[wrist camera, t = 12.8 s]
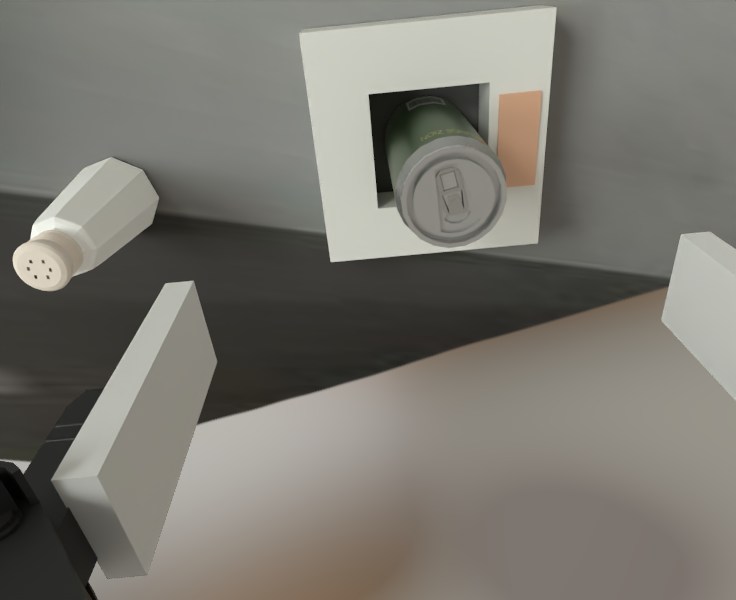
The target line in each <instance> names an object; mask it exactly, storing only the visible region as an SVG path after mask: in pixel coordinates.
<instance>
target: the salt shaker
mask: <svg viewBox="0 0 736 600" xmlns="http://www.w3.org/2000/svg"><path fill="white" fill-rule="evenodd" d="M158 201H159V196H158V195H157V193H156V191H155V190H154V188H153V186H152V185H151V183H150V181H149V179H148V178H147V176H146V174H145V173H144V171H143V170H142V169H139V168H137V167H134V166H132V165H130V164H127V163H125V162H122V161H120V160H117V159H115V158H112V157H110V158H107V159H105V160H102V161H100V162H97V163H95V164H92V165H90V166H88V167H85V168H83V170H82V171H81V172H80V173H79V174H78V175H77V176H76V177H75V178H74V179H73V180H72V182H71V183H70V184H69V185H68V186H67V187H66V188H65V189H64V190H63V191H62V192H61V193H60V195H59V196H58V197H57V198H56V199H55V200H54V201H53V202H52V203H51V204H50V205H49V207H48V208H47V209H46V210H45V211H44V212H43V213H42V214H41V215H40V216H39V217H38V219H37V220H36V221H35V223H34V224H33V226H32V232H31V238H30V240H29V241H28V242H27V243H24V244H22V245H21V246H19V247H18V248H17V249H16V251H15V252H14V254H13V265H14V268H15V270H16V273H17V274H18V276H19V277H20V278H21V279H22V280H23V281H24V282H25V283H27V284H28V285H30V286H32V287H33V288H36V289H39V290H44V291H56V290H59V289H61V288H63V287H64V286H65V285H67V283H68V282H69V280H70V279H71V277H73V276H76V275H78V274H81V273H84V272H87V271H89V270H92V269H94V268H95V267H97V266H98V265H100V264H101V263H102V262H104V261H105V260H106V259H107V258H109V257H110V256H111V255H113V254H114V253H115V252H116V251H118V250H119V249H120V248H122V247H123V246H124V245H125V244H127V243H128V242H129V241H131V240H132V239H133V238H134V237H136V236H137V235H138V234H140V233H141V232H142V231H143V230H145V229H146V228H147V227H149V226H150V225H151V224H152V222H153V219H154V215H155V212H156V208H157V205H158Z"/></svg>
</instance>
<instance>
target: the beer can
mask: <svg viewBox="0 0 736 600" xmlns="http://www.w3.org/2000/svg"><path fill="white" fill-rule="evenodd" d="M384 141H385V149H386V155H387V160H388V165H389V171H390V176H391V181H392V186H393V191H394V197H395V202H396V207H397V210H398V212H399V214H400V216H401V218H402V220H403V222H404V224H405V225H406V226H407V227H408V228H409V229H410V230H411V231H412V232H414V233H415V234H416V235H417V236H418V237H419V238H420V239H421V240H423V241H425V242H427V243H429V244H432V245H434V246H439V247H446V248H453V247H460V246H466V245H468V244H470V243H472V242H475V241H477V240H479V239H481V238H482V237H483V236H484V235H486V234H487V233H488V232H489V231H490V230H492V229H493V227H494V226H495V225H496V223H497V222H498V220H499V219H500V217H501V216H502V213H503V210H504V207H505V203H506V200H507V192H506V174H505V172H504V169H503V166H502V164H501V161H500V159H499V158H498V157H497V156H496V154H495V153H494V152H493V151H492V150H491V148H490V147H489V146H488V145H487V144H486V142H485V141H484V140H483V139H482V137H481V136H480V135H479V134H478V133H477V131H476V130H475V129H474V128H473V127H472V125H471V124H470V123H469V122H468V121H467V119H466V118H465V117H464V116H463V115H462V113H461V112H460V111H459V110H458V109H457V108H456V107H455V105H454V104H452V103H451V102H449V101H447V100H445V99H444V98H442V97H436V96H430V95H427V96H421V97H415V98H413V99H411V100H409V101H407V102H405V103H404V104H402V105H401V106H400V107H399V108H398V109H397V110H396V111H395V112H394V113H393V115H392V117H391V119H390V120H389V122H388V124H387V127H386V132H385V138H384Z"/></svg>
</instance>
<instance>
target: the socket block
mask: <svg viewBox="0 0 736 600" xmlns="http://www.w3.org/2000/svg"><path fill="white" fill-rule="evenodd" d="M556 9H557V7H551V6H543V5H536V6H526V7H516V8H506V9H496V10H486V11H477V12H467V13H457V14H447V15H437V16H427V17H417V18H407V19H398V20H388V21H378V22H368V23H358V24H348V25H338V26H328V27H319V28H309V29H303V30H302V31H301V32H300V33H299V37H300V45H301V52H302V59H303V66H304V73H305V81H306V88H307V95H308V102H309V110H310V117H311V124H312V131H313V138H314V146H315V153H316V160H317V167H318V175H319V182H320V189H321V196H322V203H323V211H324V218H325V225H326V232H327V240H328V247H329V254H330V261H331V262H338V261H349V260H360V259H371V258H382V257H393V256H404V255H415V254H426V253H437V252H448V251H459V250H470V249H481V248H492V247H503V246H514V245H525V244H536V243H538V235H539V223H540V210H541V197H542V185H543V172H544V160H545V147H546V135H547V122H548V109H549V97H550V84H551V72H552V59H553V46H554V34H555V21H556ZM469 84H479V124H478V134H479V135H480V136H481V137H482V139H483V140H484V141H485V142H486V144H487V145H488V146H489V147H490V148H491V150H492V151H493V152H494V153H495V154H496V156H497V157H498V158H499V159H500V161H501V164H502V166H503V169H504V172H505V174H506V192H507V200H506V203H505V207H504V210H503V213H502V216H501V217H500V219H499V220H498V222H497V223H496V225H495V226H494V227H493V229H492V230H490V231H489V232H488V233H487V234H486V235H484V236H483V237H482V238H481V239H479V240H477V241H475V242H472V243H470V244H468V245H466V246H460V247H453V248H446V247H439V246H434V245H432V244H429V243H427V242H425V241H423V240H421V239H420V238H419V237H418V236H417V235H416V234H415V233H414V232H412V231H411V230H410V229H409V228H408V227H407V226H406V225H405V224H404V222H403V220H402V218H401V216H400V214H399V212H398V210H397V207H396V202H395V197H394V191H392V192H381V193H377V191H376V179H375V167H374V155H373V143H372V131H371V119H370V107H369V95H368V94H377V93H387V92H397V91H408V90H418V89H428V88H438V87H448V86H459V85H469Z"/></svg>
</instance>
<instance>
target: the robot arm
mask: <svg viewBox="0 0 736 600" xmlns="http://www.w3.org/2000/svg"><path fill="white" fill-rule="evenodd" d="M661 321H662V322H663V323H664V324H665V325H666V326H667V327H668V328H669V329H670V330H671V332H672V333H673V334H674V335H675V336H676V337H677V338H678V339H679V340H680V341H681V342H682V343H683V345H684V346H685V347H686V348H687V349H688V350H689V351H690V352H691V353H692V354H693V355H694V356H695V357H696V359H697V360H698V361H699V362H700V363H701V364H702V365H703V366H704V367H705V368H706V369H707V370H708V372H710V374H711V375H712V376H713V377H714V378H715V379H716V380H717V381H718V382H719V383H720V384H721V385H722V387H723V388H724V389H725V390H726V391H727V392H728V393H729V394H730V395H731V396H732V397H733V398H734V400H735V401H736V249H734V248H733V247H731V246H730V245H728V244H727V243H726V242H724V241H723V240H721V239H720V238H718V237H717V236H715V235H714V234H713V233H711V232H700V233H690V234H681V237H680V241H679V245H678V250H677V254H676V258H675V263H674V267H673V271H672V275H671V280H670V284H669V288H668V293H667V297H666V301H665V306H664V310H663V314H662V319H661ZM216 364H217V360H216V356H215V353H214V349H213V346H212V342H211V339H210V336H209V332H208V329H207V325H206V322H205V318H204V315H203V311H202V308H201V305H200V301H199V298H198V294H197V291H196V287H195V284H194V281H186V282H175V283H165V285H164V287H163V288H162V290H161V292H160V294H159V295H158V297H157V299H156V300H155V302H154V304H153V306H152V307H151V309H150V311H149V313H148V314H147V316H146V318H145V319H144V321H143V323H142V325H141V326H140V328H139V330H138V331H137V333H136V335H135V337H134V338H133V340H132V342H131V343H130V345H129V347H128V349H127V350H126V352H125V354H124V355H123V357H122V359H121V361H120V362H119V364H118V366H117V367H116V369H115V371H114V373H113V374H112V376H111V378H110V379H109V381H108V383H107V385H106V386H105V388H103V389H92V390H86V391H85V392H83V393H82V394H81V395H80V396H79V397H78V398H77V399H75V400H74V401H73V402H72V403H71V404H70V405H68V406H67V408H66V409H65V411H64V412H63V414H62V415H61V417H60V418H59V420H58V421H57V423H56V428H53V429H52V431H51V432H50V434H49V435H48V437H47V439H46V443H43V445H42V446H41V448H40V449H39V451H38V453H37V454H36V456H35V457H34V459H33V460H32V462H31V463H30V465H29V467H28V468H27V470H26V471H25V473H24V474H23V473H22V472H21V470H20V469H19V468H18V467H17V466H16V465H15V464H14V463H11V462H4V461H0V600H98V599H97V597H96V595H95V593H94V591H93V589H92V587H91V586H90V584H89V582H88V580H89V578H90V576H91V573H92V571H93V568H94V566H95V563H96V561H97V562H98V564H99V565H100V567H101V569H102V570H103V572H104V574H105V576H106V578H107V579H111V578H123V577H134V576H145V575H147V574H148V571H149V567H150V565H151V562H152V558H153V555H154V553H155V550H156V547H157V543H158V540H159V537H160V534H161V531H162V528H163V525H164V522H165V519H166V516H167V513H168V510H169V507H170V504H171V501H172V498H173V495H174V492H175V489H176V486H177V483H178V480H179V477H180V473H181V470H182V467H183V464H184V461H185V458H186V455H187V452H188V449H189V446H190V443H191V440H192V437H193V434H194V431H195V427H196V425H197V422H198V419H199V416H200V413H201V410H202V407H203V403H204V400H205V397H206V394H207V391H208V388H209V385H210V382H211V379H212V376H213V373H214V370H215V367H216Z"/></svg>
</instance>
